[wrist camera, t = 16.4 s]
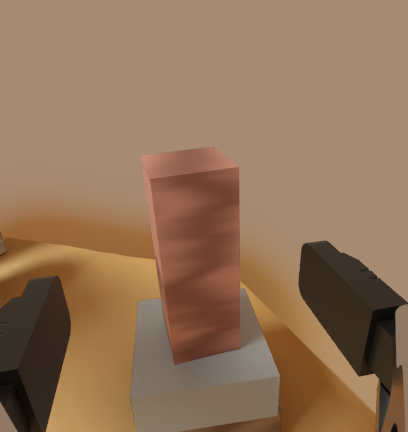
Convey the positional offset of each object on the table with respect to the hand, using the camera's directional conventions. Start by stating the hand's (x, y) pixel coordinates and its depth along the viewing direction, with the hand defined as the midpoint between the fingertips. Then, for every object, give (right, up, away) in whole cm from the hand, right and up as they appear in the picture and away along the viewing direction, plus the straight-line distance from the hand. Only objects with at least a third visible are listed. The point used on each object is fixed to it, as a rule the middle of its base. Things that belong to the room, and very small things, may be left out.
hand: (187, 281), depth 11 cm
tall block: (0, -7, +15) cm, 17 cm away
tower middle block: (0, -11, +17) cm, 20 cm away
